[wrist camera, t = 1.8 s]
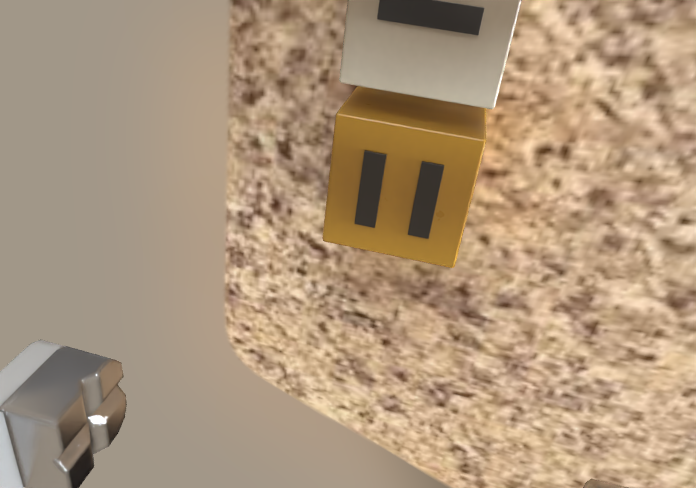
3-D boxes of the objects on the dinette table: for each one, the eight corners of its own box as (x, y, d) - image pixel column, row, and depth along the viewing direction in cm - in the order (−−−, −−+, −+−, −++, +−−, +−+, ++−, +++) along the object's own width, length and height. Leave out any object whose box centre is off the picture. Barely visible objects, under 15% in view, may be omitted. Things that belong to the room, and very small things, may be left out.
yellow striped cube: (459, 211, 23) (453, 271, 19) (348, 189, 24) (320, 243, 20) (486, 98, 21) (486, 141, 17) (362, 77, 21) (334, 113, 17)
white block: (492, 74, 20) (494, 111, 16) (365, 52, 21) (337, 83, 17) (528, -74, 18) (540, -72, 14) (384, -94, 18) (356, -96, 15)
